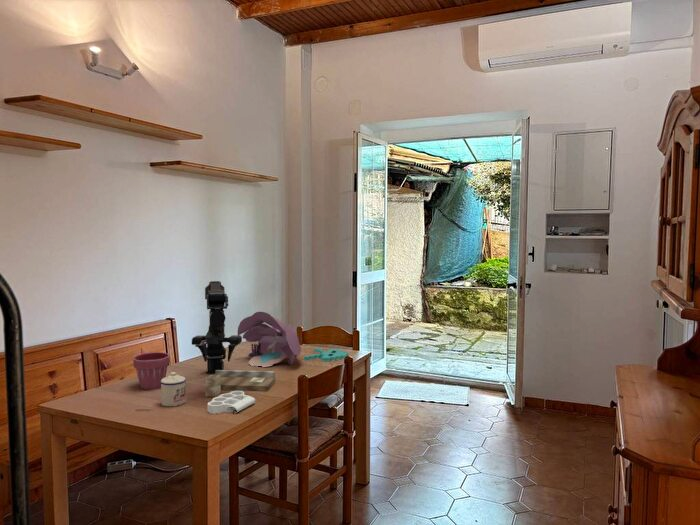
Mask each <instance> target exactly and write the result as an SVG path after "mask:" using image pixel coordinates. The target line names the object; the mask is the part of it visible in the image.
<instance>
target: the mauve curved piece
mask: <svg viewBox="0 0 700 525" xmlns="http://www.w3.org/2000/svg"><path fill="white" fill-rule="evenodd" d="M242 334H243V335H242ZM237 335H240V336H241V335H242V340H243V339H245V341H246V342H248V343H251V345H250V346H251V347H250V348H251V352H250V353H248V358H249V361H248V365H249V364H250V365H251V366H250V365H249V366H250V367H254V366H255V365H256V366H262V367H261V368H266V367H271V366H272V367H273V365H274V364H278V363H281V362H282V361H284V360H285V359H286V358H287V364H289V363H290V364H289V365H293V364H294V359H296V358H297V357H298V356H299V355H300V354H301V351H302V349H301V344H300V340H299V337H298V333H297V331H296V330H295V329H294V328H293V326H291V325H290V324H285V323H284V322H283V321H282V320H279V319H278V318H276V317H275V316H272V315H271V314H270V313H268V312H265V311H257V312H254V313H253V314H251V315H250V316H247V317H245V318H243V319H241V321H240V323H239V325H238V326H237ZM255 342H257V343H255Z"/></svg>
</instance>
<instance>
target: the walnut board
mask: <svg viewBox="0 0 700 525" xmlns="http://www.w3.org/2000/svg"><path fill="white" fill-rule="evenodd" d="M214 375H220V380H221V391H246V390H250V391H251V392H253V391H254V392H257V391H258V392H269V391H270V389H271V388H272V387H271V386H273V385H274V384H275V383H276V371H272V370H271V371H268V370H237V369H236V370H233V369H232V370H231V369H229V370H228V369H224V370H216V371H215V374H214ZM274 382H275V383H274ZM268 390H269V391H268ZM250 391H249V392H250Z"/></svg>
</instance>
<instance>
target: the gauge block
mask: <svg viewBox="0 0 700 525" xmlns="http://www.w3.org/2000/svg"><path fill="white" fill-rule="evenodd" d="M221 391H222V390H221V380H220V375H215V374H210V375H209V376H207V377H206V378H205V397H207V396H212V397H213V398H215V397H218V396H219V395H220V393H221Z"/></svg>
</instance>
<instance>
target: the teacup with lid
mask: <svg viewBox="0 0 700 525" xmlns="http://www.w3.org/2000/svg"><path fill="white" fill-rule="evenodd" d="M160 383H161V387H160V390H161V391H160V392H161V396H160V398H161V400H160V401H161V402H160V403H161V405H162V406H163V407H168V406H169V408H170V407H171V406H172V407H178V405H179V406H181V405H184V404H185V403H186V391H187V390H186V386H187V379H186V377H185V376H182V375H179V374H177V372H174V371H173V372H170V374H169V375H166V377H165V378H163V379H162V380H161V382H160Z"/></svg>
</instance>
